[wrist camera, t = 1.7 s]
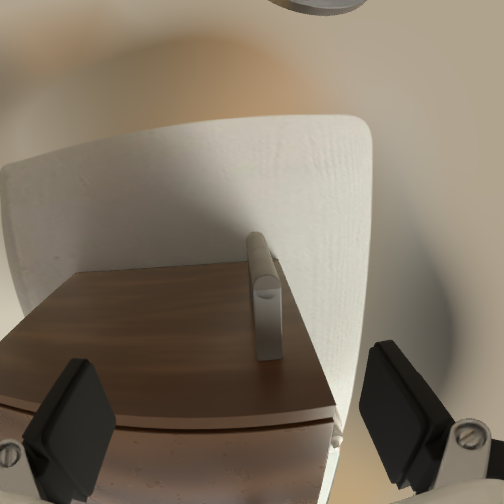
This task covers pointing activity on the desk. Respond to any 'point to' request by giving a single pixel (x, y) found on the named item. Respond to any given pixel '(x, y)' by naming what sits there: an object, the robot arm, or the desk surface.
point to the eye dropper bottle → (336, 432)
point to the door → (176, 345)
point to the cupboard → (205, 463)
